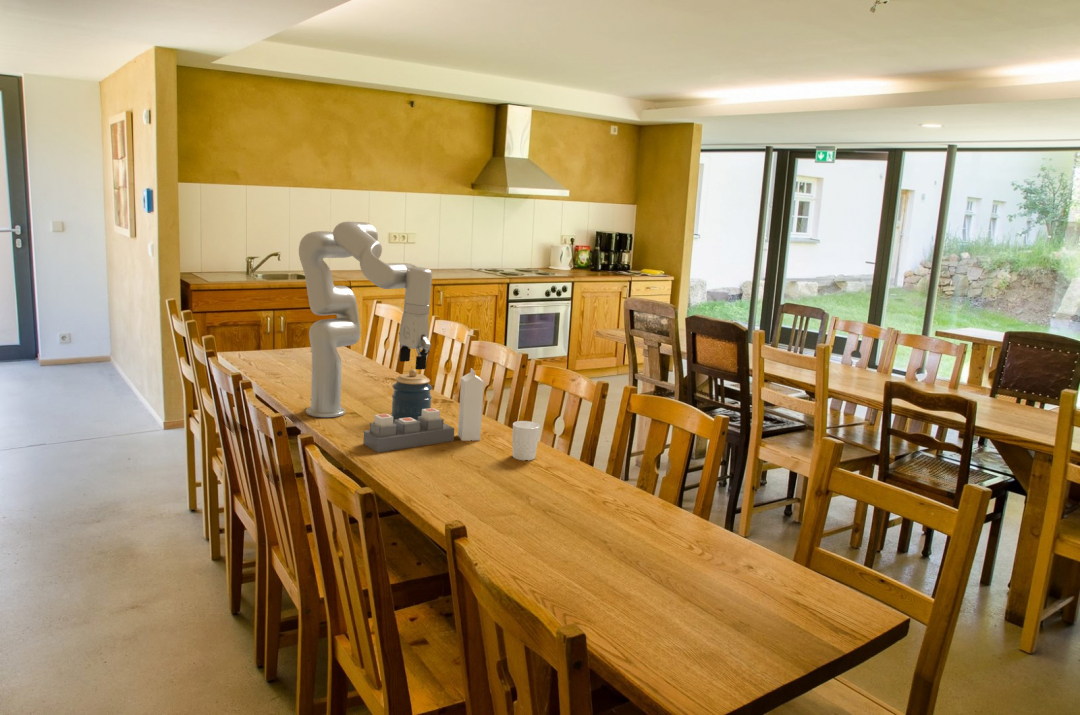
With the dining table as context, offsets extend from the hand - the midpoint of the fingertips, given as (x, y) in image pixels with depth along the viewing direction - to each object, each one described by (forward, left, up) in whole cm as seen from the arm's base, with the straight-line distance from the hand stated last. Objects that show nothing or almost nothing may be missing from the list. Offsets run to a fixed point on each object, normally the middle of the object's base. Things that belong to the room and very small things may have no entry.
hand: (412, 365), depth 230 cm
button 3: (+3, +6, -17) cm, 18 cm away
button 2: (+3, -2, -19) cm, 19 cm away
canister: (-17, +11, -24) cm, 31 cm away
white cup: (+30, +22, -24) cm, 44 cm away
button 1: (+3, -10, -17) cm, 20 cm away
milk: (+7, +18, -24) cm, 30 cm away
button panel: (+3, -1, -23) cm, 23 cm away
